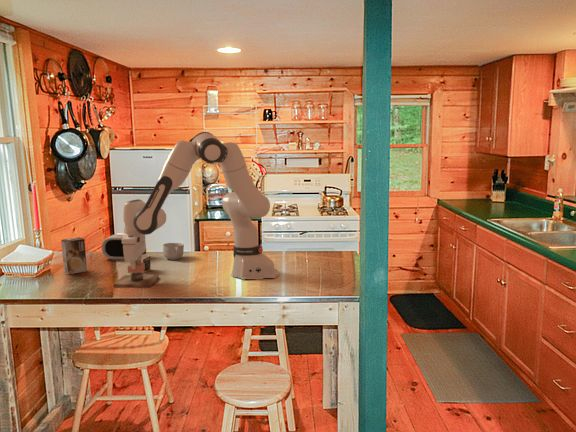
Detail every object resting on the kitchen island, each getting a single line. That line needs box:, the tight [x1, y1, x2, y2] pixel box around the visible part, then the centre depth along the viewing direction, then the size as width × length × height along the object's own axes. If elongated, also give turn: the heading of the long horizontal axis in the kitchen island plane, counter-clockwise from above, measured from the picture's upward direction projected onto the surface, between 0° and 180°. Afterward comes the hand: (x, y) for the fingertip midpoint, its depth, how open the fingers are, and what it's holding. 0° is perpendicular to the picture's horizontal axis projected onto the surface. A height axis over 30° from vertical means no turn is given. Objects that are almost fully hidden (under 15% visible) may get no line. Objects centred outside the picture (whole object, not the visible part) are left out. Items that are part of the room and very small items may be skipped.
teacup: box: [162, 242, 185, 261], centre depth 266 cm, size 14×11×8 cm
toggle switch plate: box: [113, 260, 160, 288], centre depth 225 cm, size 16×14×10 cm
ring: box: [127, 263, 145, 274], centre depth 224 cm, size 6×6×3 cm
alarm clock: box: [101, 232, 125, 261], centre depth 267 cm, size 21×10×13 cm, turn 88°
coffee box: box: [61, 236, 88, 275], centre depth 241 cm, size 9×6×16 cm
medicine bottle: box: [135, 250, 152, 274], centre depth 243 cm, size 7×7×12 cm
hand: (136, 266), depth 224 cm, fingers open, 6 cm apart
